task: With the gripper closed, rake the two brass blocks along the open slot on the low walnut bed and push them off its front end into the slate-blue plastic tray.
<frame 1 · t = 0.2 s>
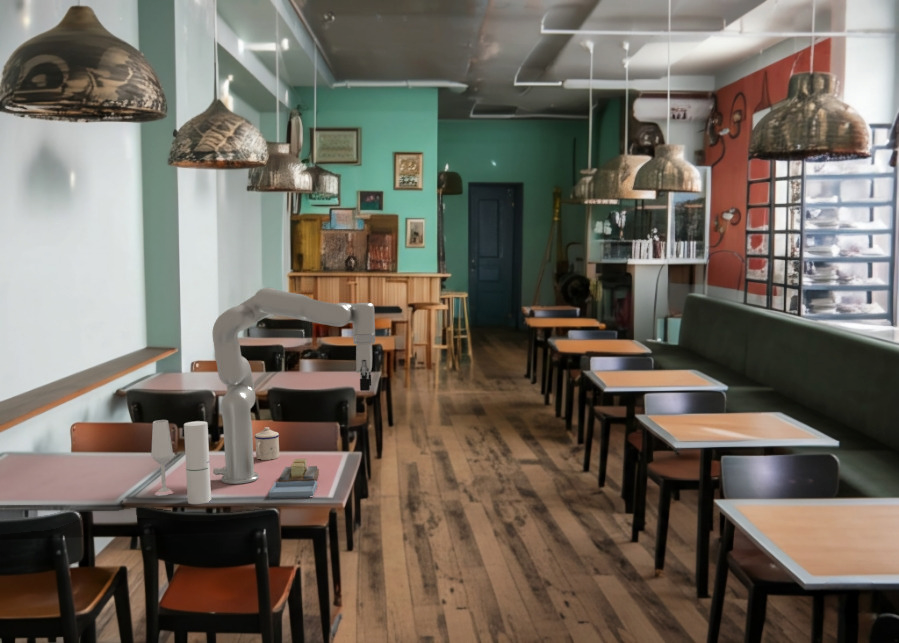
hand: (365, 388, 296), 31 cm above the table, tool pointing down, fingers open, 9 cm apart
brass chip front: (298, 475, 291), point 2 cm above the table, touching slot bed
champagne flute: (164, 493, 283), on the table
tray: (293, 492, 280), on the table
teacup with lid: (265, 459, 326), on the table
cylindrical container: (199, 501, 273), on the table
brass chip rear: (300, 471, 296), point 2 cm above the table, touching slot bed
slot bed: (299, 481, 293), on the table
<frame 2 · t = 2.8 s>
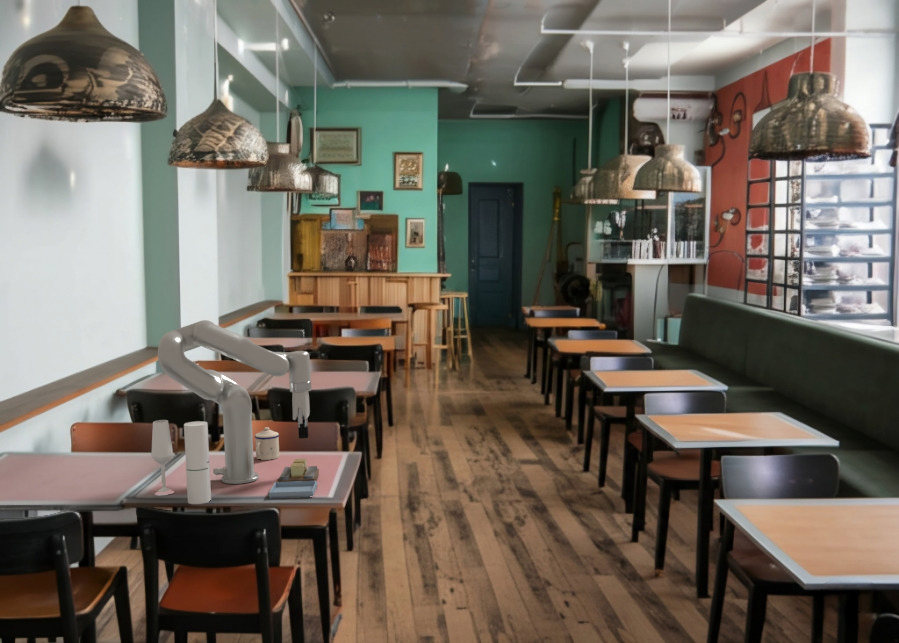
hand: (303, 437, 303), 13 cm above the table, tool pointing down, fingers closed
nothing on the table moved.
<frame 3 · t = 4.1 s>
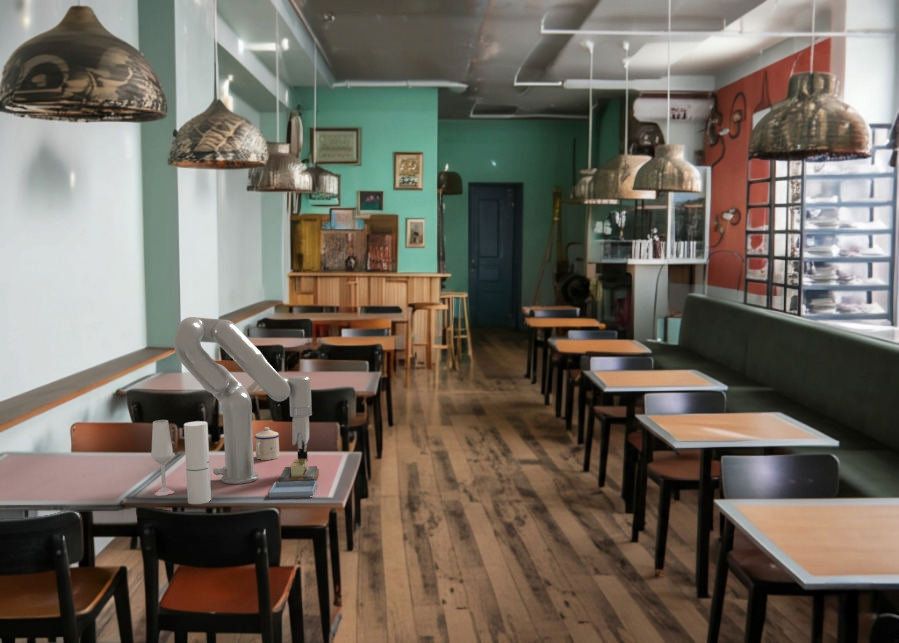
hand: (302, 462, 303), 4 cm above the table, tool pointing down, fingers closed
nothing on the table moved.
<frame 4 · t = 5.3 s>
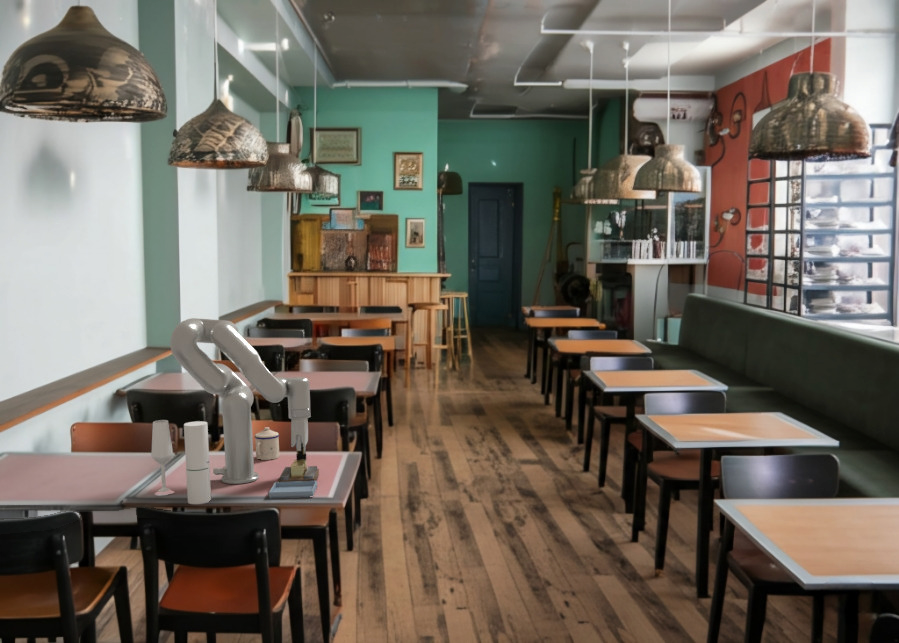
hand: (301, 464, 300), 4 cm above the table, tool pointing down, fingers closed
brass chip rear: (300, 472, 296), point 3 cm above the table, touching gripper
everything else where it was.
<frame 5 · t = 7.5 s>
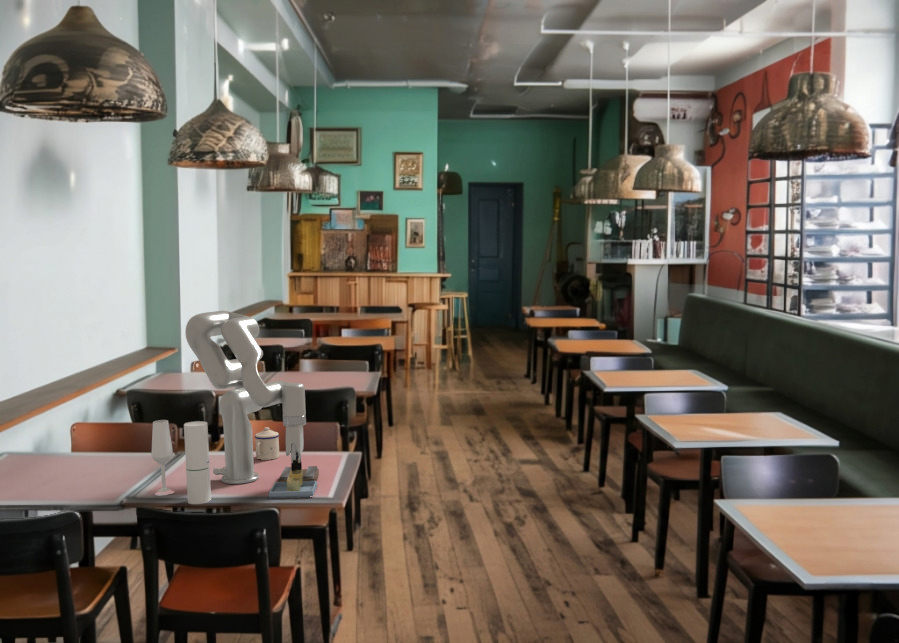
hand: (296, 474, 287), 4 cm above the table, tool pointing down, fingers closed
brass chip front: (294, 481, 282), point 3 cm above the table, tilted 96°, touching brass chip rear
brass chip rear: (296, 483, 284), point 2 cm above the table, tilted 6°, touching brass chip front, gripper, tray
everything else where it was.
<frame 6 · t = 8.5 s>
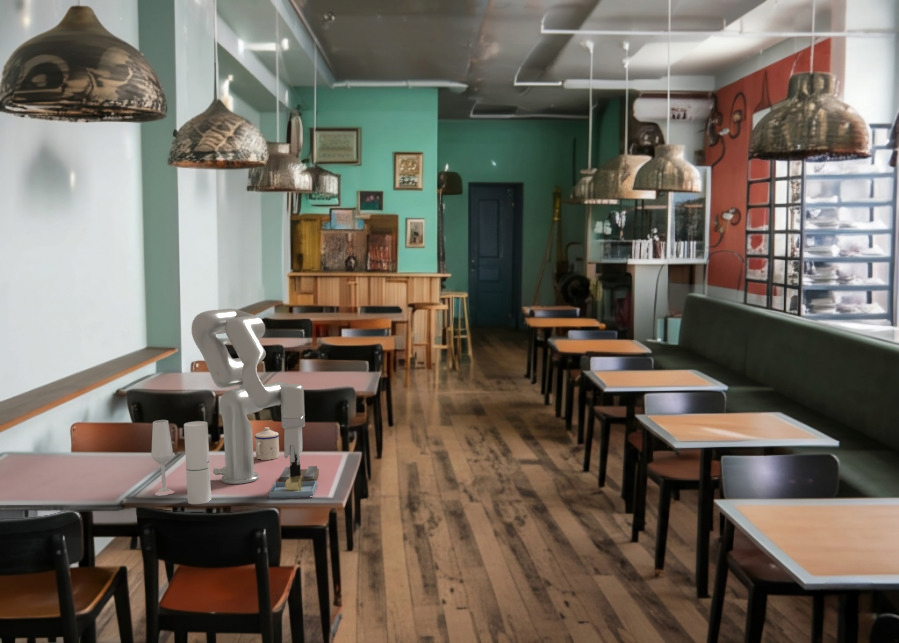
hand: (295, 476, 284), 4 cm above the table, tool pointing down, fingers closed
brass chip front: (293, 485, 279), point 3 cm above the table, tilted 90°, touching brass chip rear
brass chip rear: (295, 489, 282), point 1 cm above the table, touching brass chip front, gripper, tray
everything else where it was.
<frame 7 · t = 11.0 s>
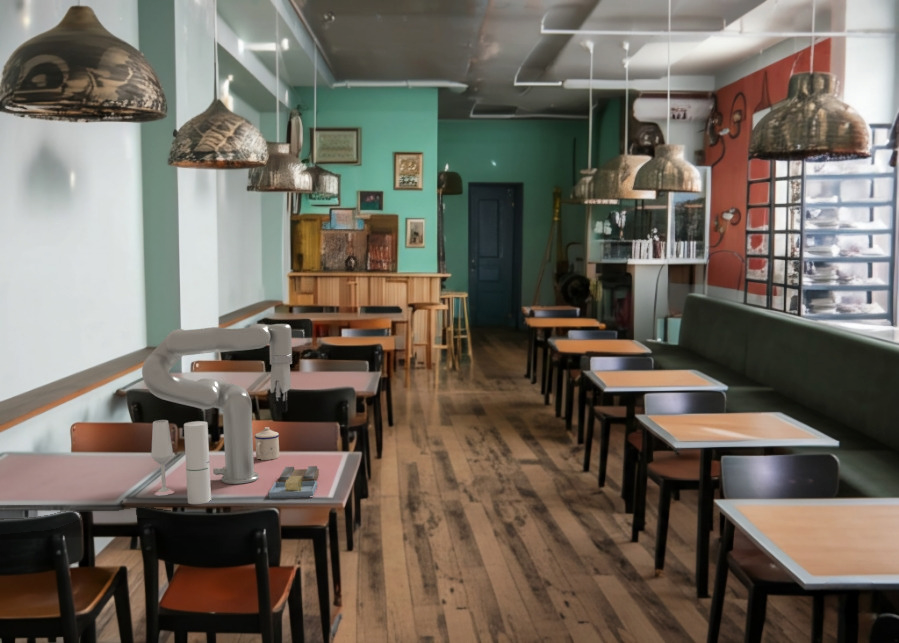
hand: (282, 411, 300), 23 cm above the table, tool pointing down, fingers closed
brass chip front: (293, 485, 279), point 3 cm above the table, tilted 90°, touching tray
brass chip rear: (295, 489, 282), point 1 cm above the table, touching tray
everything else where it was.
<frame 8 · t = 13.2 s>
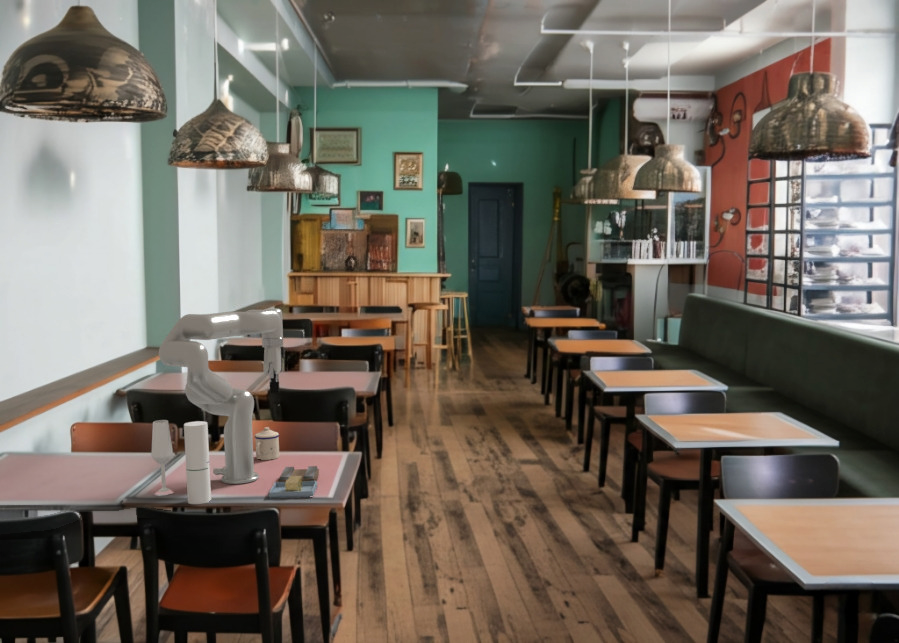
hand: (274, 392, 313), 27 cm above the table, tool pointing down, fingers closed
nothing on the table moved.
at the end: brass chip front inside the target area (0.6 cm from its centre), point 2.6 cm above the table; brass chip rear inside the target area (1.5 cm from its centre), point 0.6 cm above the table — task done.
